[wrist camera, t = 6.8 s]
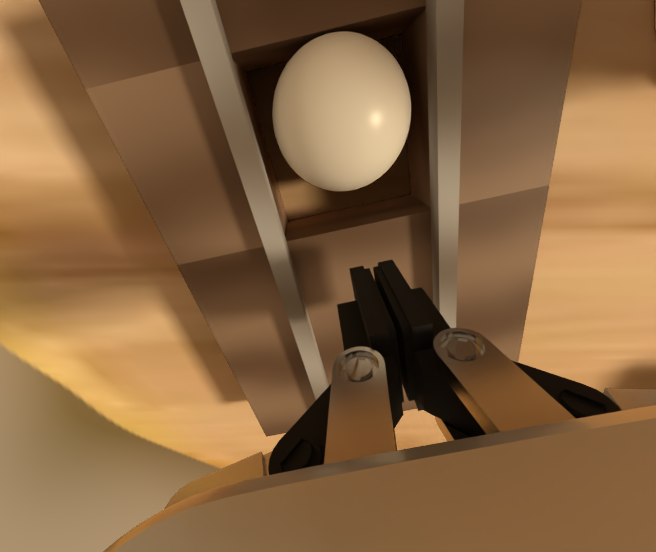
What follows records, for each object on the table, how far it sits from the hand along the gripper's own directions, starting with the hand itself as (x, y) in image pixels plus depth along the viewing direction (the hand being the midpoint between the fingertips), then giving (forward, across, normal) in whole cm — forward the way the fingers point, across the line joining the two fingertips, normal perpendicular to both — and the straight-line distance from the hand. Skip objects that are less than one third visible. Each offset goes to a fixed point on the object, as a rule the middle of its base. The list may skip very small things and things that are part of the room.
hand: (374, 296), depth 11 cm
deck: (+5, 0, 0) cm, 5 cm away
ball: (+3, 0, -6) cm, 7 cm away
